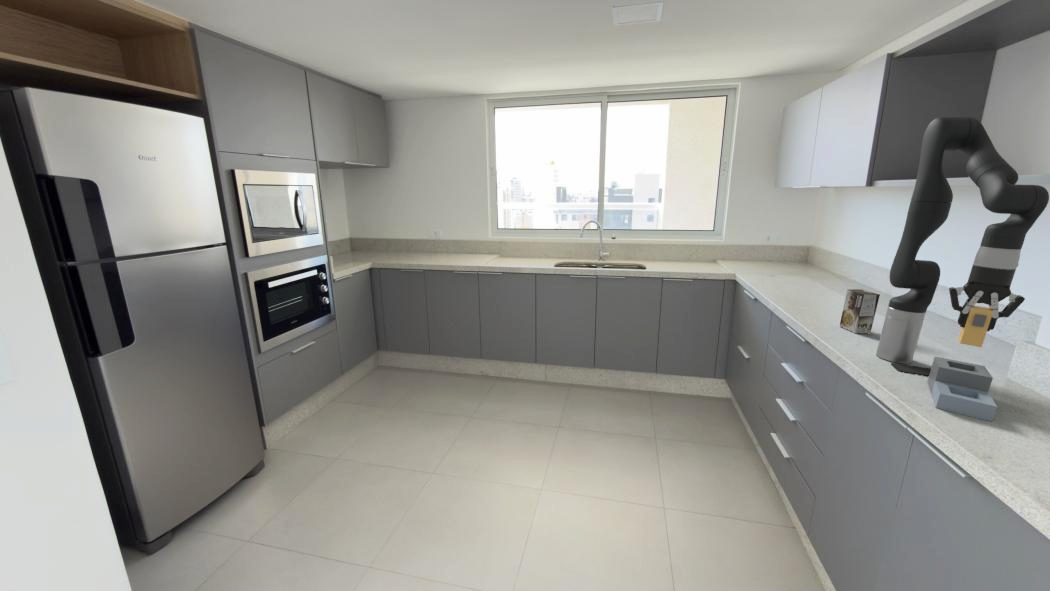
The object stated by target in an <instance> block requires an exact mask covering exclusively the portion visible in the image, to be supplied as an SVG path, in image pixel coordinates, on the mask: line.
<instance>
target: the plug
mask: <svg viewBox="0 0 1050 591" xmlns="http://www.w3.org/2000/svg"><path fill="white" fill-rule="evenodd" d="M992 314H993V310H991V309H990V308H989V306H987V307H986V306H981V305H974V306H973V307H971V309H970V311H969V312H968V318H967V321H966V324H965V327H960V328H961V329H960V331H959V334H958V338H957V340H958V343H959V344H961V345H967V346H973V347H978V348H982V347H983V344H984V341H985V338H986V335H987V332H988V331H987V329H988V326H989V323H990V320H991V317H992Z"/></svg>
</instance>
